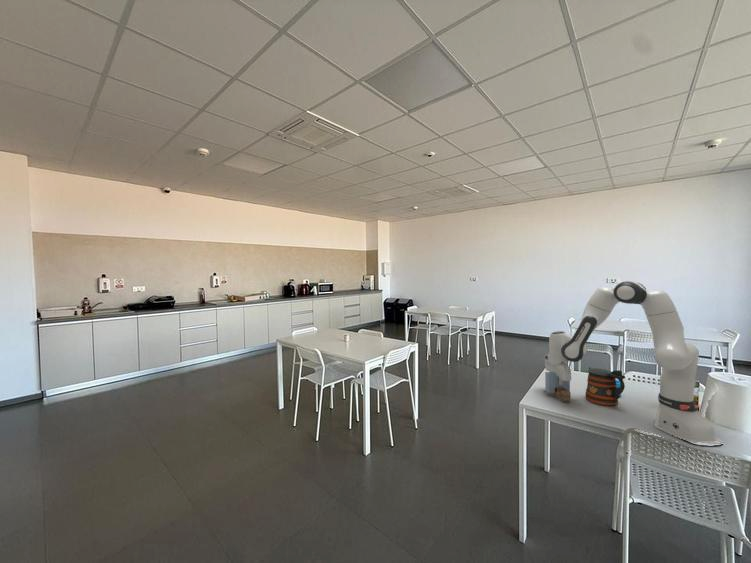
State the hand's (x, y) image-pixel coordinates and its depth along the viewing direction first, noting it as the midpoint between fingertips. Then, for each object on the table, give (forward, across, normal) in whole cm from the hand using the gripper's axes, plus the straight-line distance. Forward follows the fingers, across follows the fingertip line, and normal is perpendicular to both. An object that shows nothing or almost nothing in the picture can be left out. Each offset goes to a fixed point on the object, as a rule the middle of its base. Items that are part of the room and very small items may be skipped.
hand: (557, 383), depth 176 cm
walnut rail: (+8, 0, 0) cm, 8 cm away
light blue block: (+5, 0, 0) cm, 5 cm away
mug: (+8, +1, -33) cm, 34 cm away
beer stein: (+8, -9, -21) cm, 24 cm away
